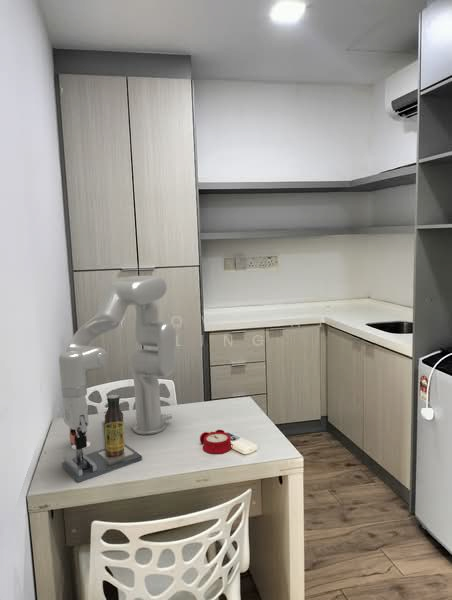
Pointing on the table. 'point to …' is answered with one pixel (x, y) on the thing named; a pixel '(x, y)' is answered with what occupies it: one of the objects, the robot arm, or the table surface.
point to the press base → (100, 462)
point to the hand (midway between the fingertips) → (78, 445)
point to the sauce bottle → (114, 427)
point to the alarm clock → (216, 442)
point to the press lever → (78, 451)
